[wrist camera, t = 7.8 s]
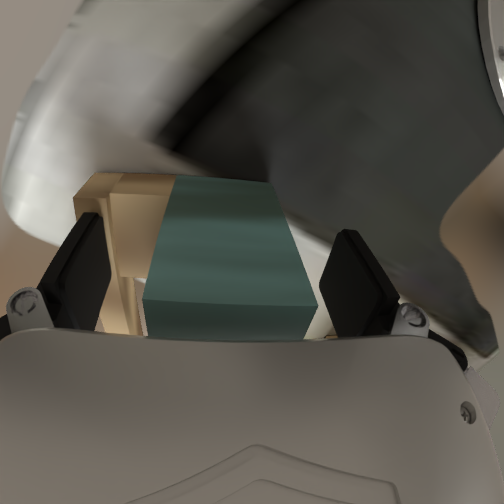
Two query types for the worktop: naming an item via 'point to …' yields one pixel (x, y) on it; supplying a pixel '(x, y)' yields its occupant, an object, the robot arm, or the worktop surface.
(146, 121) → the worktop surface
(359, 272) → the robot arm
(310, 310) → the tan frame
